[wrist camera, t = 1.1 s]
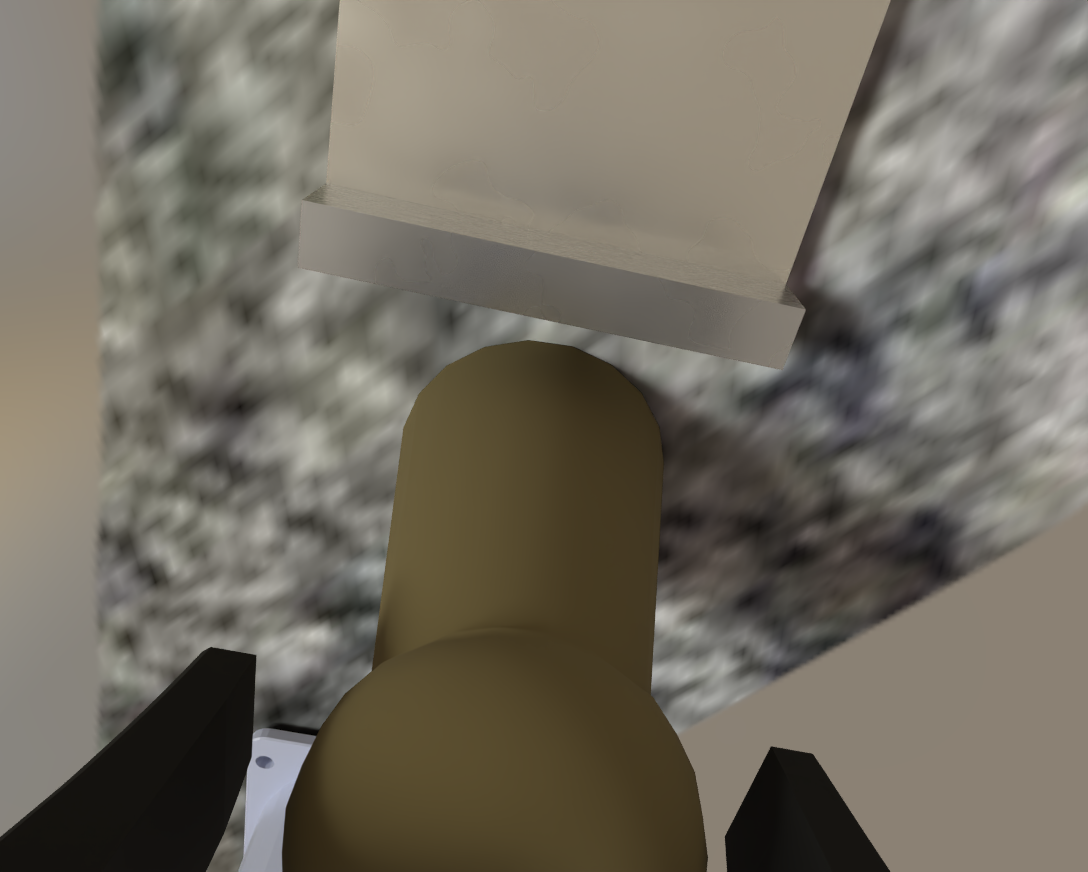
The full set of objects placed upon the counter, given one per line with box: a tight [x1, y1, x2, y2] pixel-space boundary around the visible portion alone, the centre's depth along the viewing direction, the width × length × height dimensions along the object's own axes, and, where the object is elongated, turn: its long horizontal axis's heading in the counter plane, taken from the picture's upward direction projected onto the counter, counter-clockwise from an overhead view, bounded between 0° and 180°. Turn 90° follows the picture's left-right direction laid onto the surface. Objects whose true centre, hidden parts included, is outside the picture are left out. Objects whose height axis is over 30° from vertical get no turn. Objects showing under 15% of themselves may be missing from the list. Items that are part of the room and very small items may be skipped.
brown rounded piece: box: [282, 340, 708, 872], centre depth 13 cm, size 6×6×11 cm
